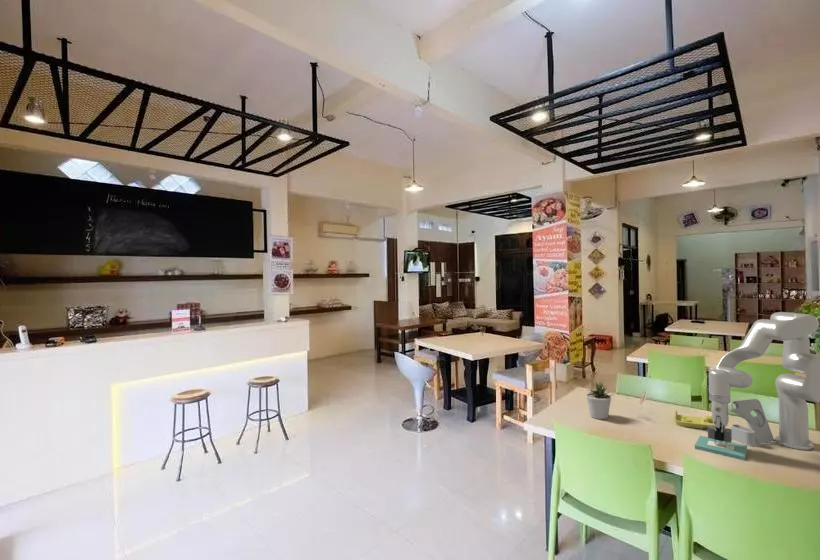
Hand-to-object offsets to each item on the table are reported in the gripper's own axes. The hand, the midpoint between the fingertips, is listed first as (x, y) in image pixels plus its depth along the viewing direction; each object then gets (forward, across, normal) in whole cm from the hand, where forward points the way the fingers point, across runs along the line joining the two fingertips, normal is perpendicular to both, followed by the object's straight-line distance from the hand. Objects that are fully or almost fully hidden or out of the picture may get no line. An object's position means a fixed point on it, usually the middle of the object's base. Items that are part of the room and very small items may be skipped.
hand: (720, 437), depth 174 cm
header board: (+5, 0, 0) cm, 5 cm away
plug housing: (0, 0, 0) cm, 0 cm away
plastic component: (+5, +24, +12) cm, 27 cm away
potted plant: (+5, +7, +53) cm, 54 cm away
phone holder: (+5, +21, -10) cm, 24 cm away
